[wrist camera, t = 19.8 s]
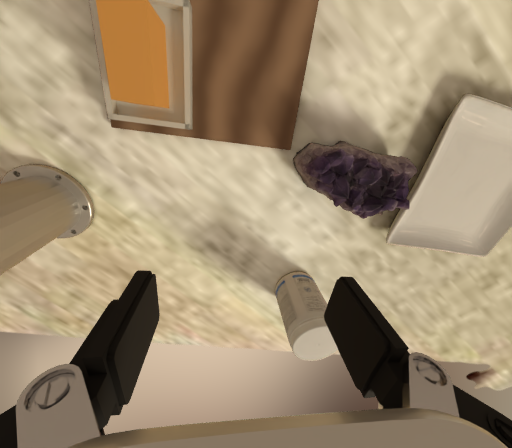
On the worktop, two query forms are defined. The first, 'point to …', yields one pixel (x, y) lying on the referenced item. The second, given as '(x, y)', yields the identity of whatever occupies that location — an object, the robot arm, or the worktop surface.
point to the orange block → (134, 52)
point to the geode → (356, 177)
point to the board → (245, 71)
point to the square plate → (462, 184)
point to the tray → (178, 66)
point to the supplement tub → (304, 317)
